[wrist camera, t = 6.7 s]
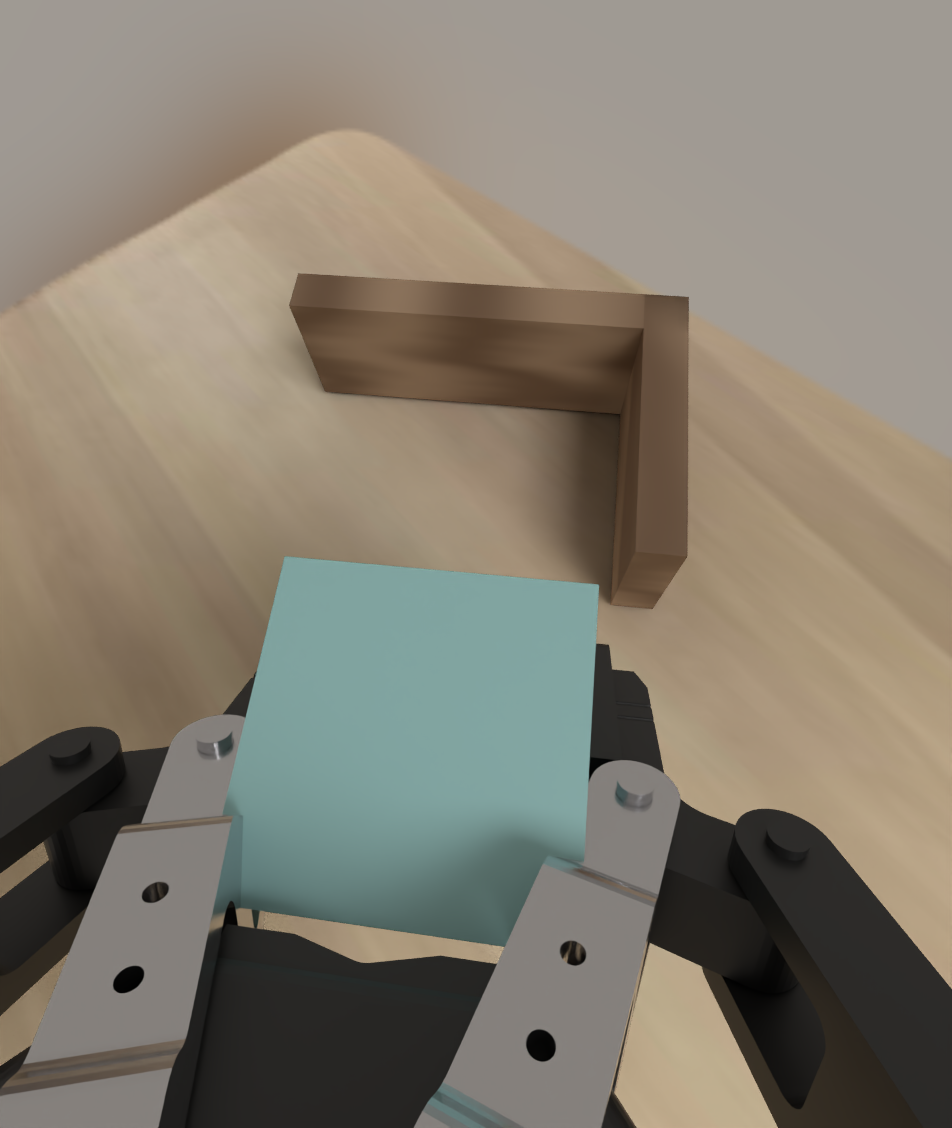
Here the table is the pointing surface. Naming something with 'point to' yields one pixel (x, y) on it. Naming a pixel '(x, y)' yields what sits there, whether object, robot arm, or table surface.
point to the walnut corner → (530, 380)
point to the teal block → (414, 746)
